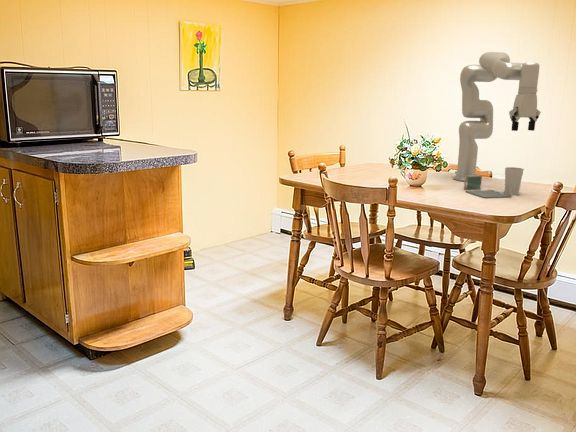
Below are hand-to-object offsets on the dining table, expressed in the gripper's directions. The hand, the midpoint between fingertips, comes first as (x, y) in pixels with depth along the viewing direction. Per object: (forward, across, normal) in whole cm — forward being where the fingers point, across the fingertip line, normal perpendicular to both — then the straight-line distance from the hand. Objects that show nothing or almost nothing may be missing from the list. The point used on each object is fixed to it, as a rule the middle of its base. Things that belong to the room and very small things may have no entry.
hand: (522, 130), depth 240 cm
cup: (+30, -2, -4) cm, 30 cm away
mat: (+30, +11, -5) cm, 32 cm away
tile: (+30, +9, -18) cm, 36 cm away
